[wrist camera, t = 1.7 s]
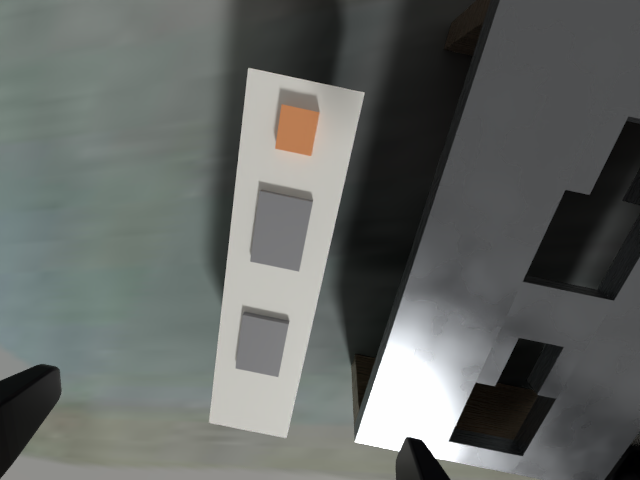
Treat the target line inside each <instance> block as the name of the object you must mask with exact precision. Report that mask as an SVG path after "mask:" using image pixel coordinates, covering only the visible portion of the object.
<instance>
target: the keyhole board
mask: <svg viewBox="0 0 640 480" xmlns="http://www.w3.org/2000/svg"><path fill="white" fill-rule="evenodd" d="M444 50H448V51H452V52H457V53H461V54H466V55H471V56H473V57H472V60H471V63H470V66H469V69H468V72H467V75H466V78H465V82H464V85H463V88H462V91H461V94H460V97H459V100H458V103H457V107H456V110H455V113H454V116H453V119H452V122H451V125H450V128H449V132H448V135H447V138H446V141H445V144H444V147H443V150H442V153H441V157H440V160H439V163H438V166H437V169H436V172H435V175H434V178H433V182H432V185H431V188H430V191H429V194H428V197H427V200H426V203H425V207H424V210H423V213H422V216H421V219H420V222H419V225H418V228H417V232H416V235H415V238H414V241H413V244H412V247H411V250H410V253H409V257H408V260H407V263H406V266H405V269H404V272H403V275H402V278H401V282H400V285H399V288H398V291H397V294H396V297H395V300H394V303H393V307H392V310H391V313H390V316H389V319H388V322H387V325H386V328H385V332H384V335H383V338H382V341H381V344H380V347H379V350H378V353H377V357H376V358H373V357H368V356H363V355H358V354H355V356H354V360H353V363H352V366H351V370H352V392H353V413H354V435H355V442H357V443H362V444H367V445H372V446H377V447H382V448H387V449H392V450H397V451H400V449H401V446H402V444H403V441H404V439H405V438H406V437H413V438H418V439H421V440H422V441H423V442H424V443H425V444H426V445H427V447H428V448H429V450H430V451H431V453H432V454H433V455H434V457H435V458H437V459H442V460H447V461H452V462H457V463H462V464H467V465H472V466H477V467H482V468H487V469H492V470H497V471H502V472H507V473H512V474H517V475H522V476H527V477H532V478H537V479H542V480H604V479H605V478H606V477H607V475H608V474H609V473H610V471H611V470H612V469H613V467H614V466H615V464H616V463H617V462H618V460H619V459H620V458H621V456H622V455H623V454H624V452H625V451H626V450H627V448H628V447H629V445H630V444H631V443H632V441H633V440H634V439H635V437H636V436H637V435H638V433H639V432H640V215H639V217H638V219H637V220H636V222H635V224H634V226H633V228H632V229H631V231H630V233H629V235H628V236H627V238H626V240H625V242H624V244H623V245H622V247H621V249H620V251H619V253H618V254H617V256H616V258H615V260H614V261H613V263H612V265H611V267H610V269H609V270H608V272H607V274H606V276H605V277H604V279H603V281H602V283H601V285H600V286H599V288H598V290H595V289H590V288H586V287H581V286H576V285H571V284H566V283H562V282H557V281H552V280H547V279H542V278H538V277H533V276H528V275H526V273H527V271H528V269H529V267H530V265H531V263H532V260H533V258H534V256H535V254H536V252H537V250H538V248H539V245H540V243H541V241H542V239H543V237H544V235H545V232H546V230H547V228H548V226H549V224H550V222H551V220H552V217H553V215H554V213H555V211H556V209H557V207H558V205H559V202H560V200H561V198H562V196H563V194H564V192H565V190H569V191H574V192H578V193H583V194H588V195H590V193H591V191H592V189H593V187H594V185H595V183H596V181H597V179H598V177H599V175H600V173H601V171H602V169H603V167H604V165H605V163H606V161H607V159H608V157H609V155H610V153H611V151H612V149H613V147H614V145H615V143H616V140H617V138H618V136H619V134H620V132H621V130H622V128H623V126H624V124H625V122H626V121H630V122H634V123H639V124H640V0H477V1H476V2H474V3H473V4H472V5H471V6H470V7H469V8H468V9H467V10H465V11H464V12H463V13H462V14H461V15H460V16H459V17H458V18H456V19H455V20H454V21H453V22H452V23H451V26H450V30H449V33H448V36H447V40H446V43H445V47H444ZM623 201H626V202H629V203H633V204H637V205H640V169H639V171H638V172H637V174H636V176H635V178H634V180H633V182H632V184H631V186H630V187H629V189H628V191H627V193H626V195H625V197H624V199H623ZM519 338H522V339H527V340H532V341H537V342H542V343H546V345H545V347H544V349H543V351H542V352H541V354H540V356H539V358H538V360H537V362H536V364H535V366H534V367H533V369H532V371H531V373H530V375H529V377H528V379H527V382H528V383H529V384H530V386H531V387H532V388H533V390H530V389H525V388H520V387H515V386H511V385H506V384H501V383H497V381H498V379H499V377H500V375H501V373H502V371H503V369H504V367H505V365H506V363H507V361H508V359H509V357H510V355H511V353H512V351H513V349H514V347H515V345H516V343H517V341H518V339H519Z"/></svg>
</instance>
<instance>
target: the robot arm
mask: <svg viewBox="0 0 640 480" xmlns="http://www.w3.org/2000/svg"><path fill="white" fill-rule="evenodd" d="M60 395H61V379H60V370H59V369H58V367H56V366H51V365H46V364H40V365H36V366H34V367H31V368H29V369H27V370H25V371H22V372H20V373H17V374H15V375H13V376H10V377H8V378H6V379H3V380H1V381H0V478H1V477H2V476H3V475H4V474H5V472H6V471H7V470H8V469H9V467H10V466H11V465H12V464H13V462H14V461H15V460H16V459H17V457H18V456H19V455H20V453H21V452H22V450H23V449H24V448H25V446H26V445H27V443H28V442H29V441H30V439H31V438H32V436H33V435H34V434H35V432H36V431H37V430H38V428H39V427H40V425H41V424H42V423H43V421H44V420H45V418H46V417H47V416H48V414H49V413H50V411H51V410H52V409H53V407H54V406H55V404H56V403H57V402H58V400H59V398H60ZM396 480H450V478H449V477H448V475H447V474H446V473H445V471H444V470H443V468H442V467H441V465H440V464H439V463H438V461H437V460H436V458H435V457H434V455H433V454H432V453H431V451H430V450H429V448H428V447H427V445H426V444H425V443H424V442H423V441H422V440H421V439H418V438H413V437H406V438H405V439H404V441H403V444H402V446H401V449H400V451H399V453H398V456H397V459H396ZM604 480H640V447H639V446H633V445H631V446H629V447H628V448H627V450H626V451H625V452H624V454H623V455H622V456H621V458H620V459H619V460H618V462H617V463H616V464H615V466H614V467H613V469H612V470H611V471H610V473H609V474H608V475H607V477H606V478H605V479H604Z"/></svg>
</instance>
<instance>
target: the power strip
mask: <svg viewBox="0 0 640 480" xmlns="http://www.w3.org/2000/svg"><path fill="white" fill-rule="evenodd" d="M364 94H365V93H364V92H359V91H354V90H350V89H345V88H341V87H336V86H331V85H327V84H322V83H317V82H313V81H308V80H303V79H299V78H294V77H289V76H285V75H280V74H275V73H271V72H266V71H261V70H257V69H252V68H248V74H247V83H246V92H245V101H244V111H243V120H242V129H241V138H240V147H239V156H238V165H237V174H236V183H235V192H234V201H233V210H232V219H231V228H230V238H229V247H228V256H227V265H226V274H225V283H224V292H223V301H222V310H221V319H220V328H219V337H218V346H217V355H216V365H215V374H214V383H213V392H212V401H211V410H210V419H209V423H213V424H218V425H223V426H228V427H233V428H238V429H243V430H248V431H253V432H258V433H263V434H268V435H273V436H278V437H283V438H287V434H288V429H289V425H290V421H291V416H292V412H293V407H294V403H295V398H296V394H297V390H298V385H299V381H300V376H301V372H302V368H303V363H304V359H305V354H306V350H307V345H308V341H309V337H310V332H311V328H312V323H313V319H314V315H315V310H316V306H317V301H318V297H319V292H320V288H321V284H322V279H323V275H324V270H325V266H326V262H327V257H328V253H329V248H330V244H331V239H332V235H333V231H334V226H335V222H336V217H337V213H338V208H339V204H340V200H341V195H342V191H343V186H344V182H345V178H346V173H347V169H348V164H349V160H350V155H351V151H352V147H353V142H354V138H355V133H356V129H357V125H358V120H359V116H360V111H361V107H362V102H363V98H364Z"/></svg>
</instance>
